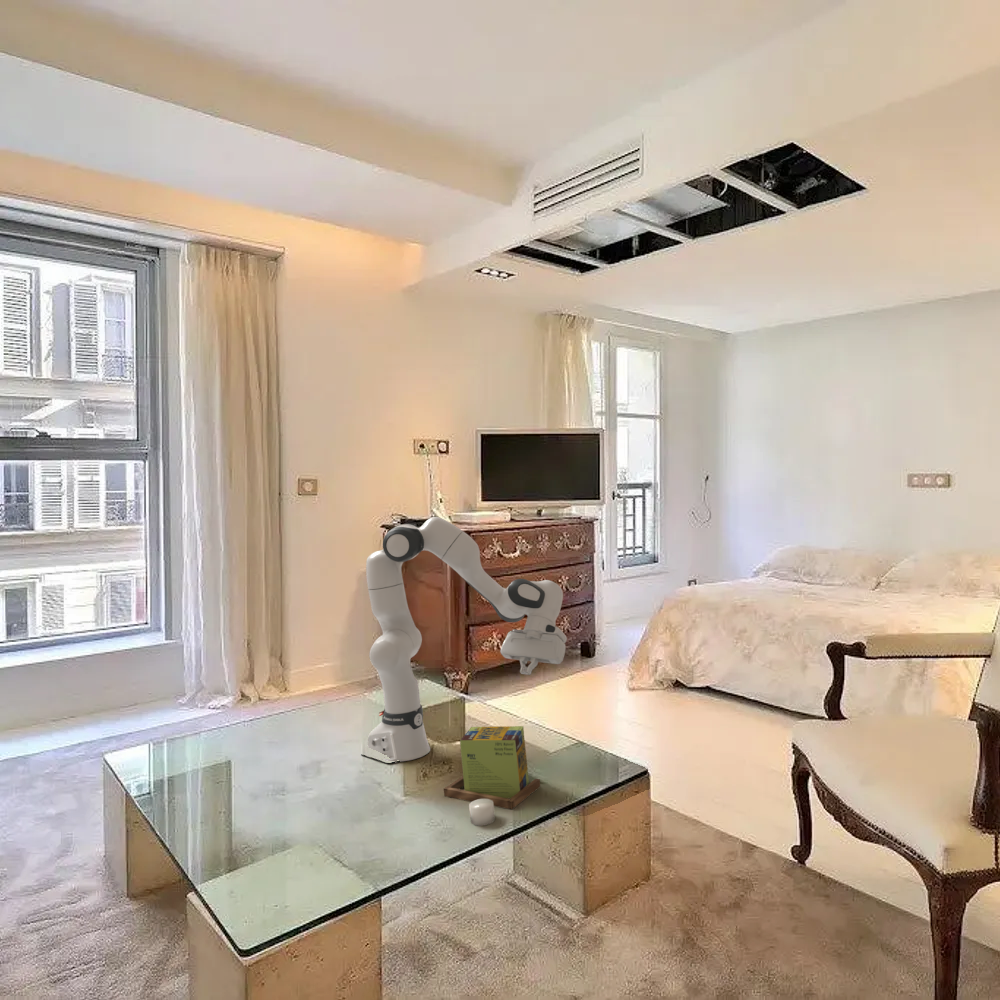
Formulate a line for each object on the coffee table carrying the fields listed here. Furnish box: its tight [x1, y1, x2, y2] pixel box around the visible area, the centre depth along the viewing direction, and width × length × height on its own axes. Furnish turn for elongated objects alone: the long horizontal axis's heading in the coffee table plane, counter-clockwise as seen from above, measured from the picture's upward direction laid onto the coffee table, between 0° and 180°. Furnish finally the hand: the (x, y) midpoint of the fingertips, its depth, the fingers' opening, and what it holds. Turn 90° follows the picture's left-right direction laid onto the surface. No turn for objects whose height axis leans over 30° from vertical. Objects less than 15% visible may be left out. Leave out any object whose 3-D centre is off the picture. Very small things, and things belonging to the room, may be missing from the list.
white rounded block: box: [468, 799, 496, 827], centre depth 180 cm, size 6×6×4 cm
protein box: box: [459, 725, 530, 799], centre depth 196 cm, size 10×15×16 cm
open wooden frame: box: [443, 775, 541, 810], centre depth 196 cm, size 21×14×2 cm, turn 57°
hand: (524, 673), depth 215 cm, fingers closed
